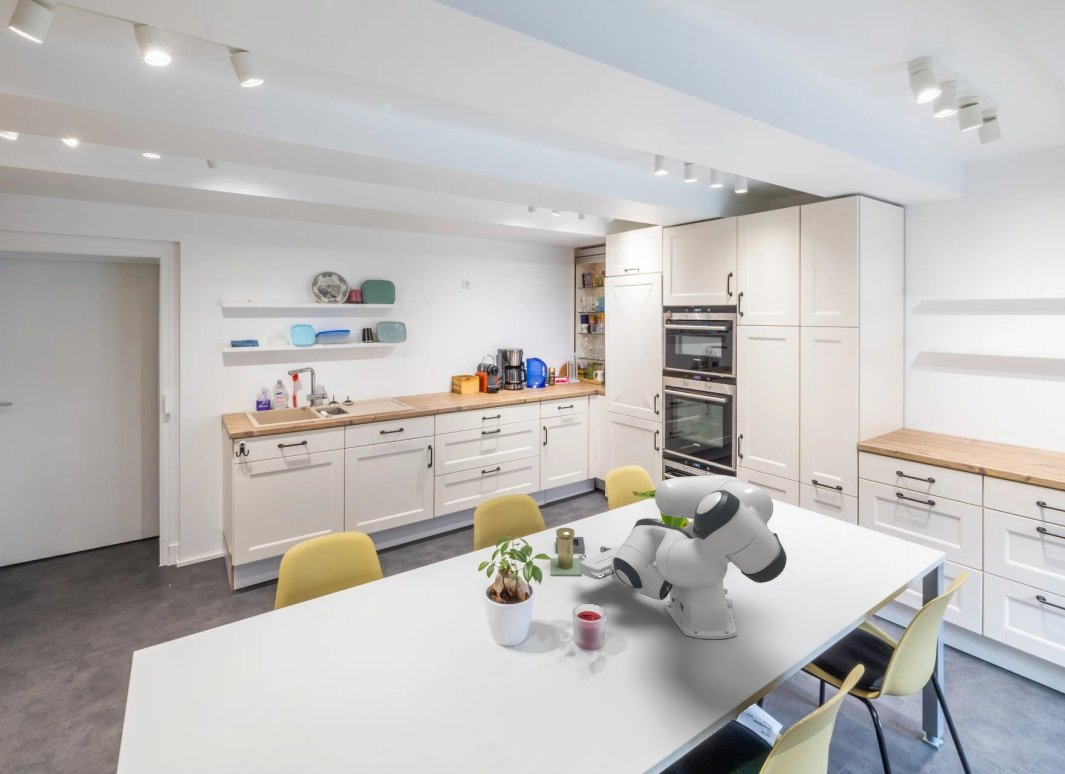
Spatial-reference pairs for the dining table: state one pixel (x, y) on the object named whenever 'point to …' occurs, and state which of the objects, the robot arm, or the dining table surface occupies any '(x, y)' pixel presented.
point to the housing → (575, 545)
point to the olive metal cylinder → (565, 547)
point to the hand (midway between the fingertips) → (591, 552)
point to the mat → (565, 572)
